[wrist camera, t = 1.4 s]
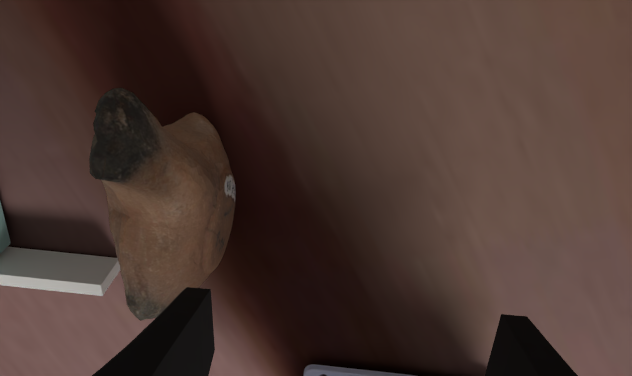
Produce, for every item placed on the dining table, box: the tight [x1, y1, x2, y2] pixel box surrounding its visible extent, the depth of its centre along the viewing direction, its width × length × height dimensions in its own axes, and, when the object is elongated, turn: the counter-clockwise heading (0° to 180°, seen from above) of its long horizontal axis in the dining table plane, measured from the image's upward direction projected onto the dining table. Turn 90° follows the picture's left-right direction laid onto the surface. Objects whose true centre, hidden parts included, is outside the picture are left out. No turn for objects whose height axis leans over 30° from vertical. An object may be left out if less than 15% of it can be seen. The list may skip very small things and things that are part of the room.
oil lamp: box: [90, 88, 236, 321], centre depth 18 cm, size 9×4×8 cm, turn 179°
